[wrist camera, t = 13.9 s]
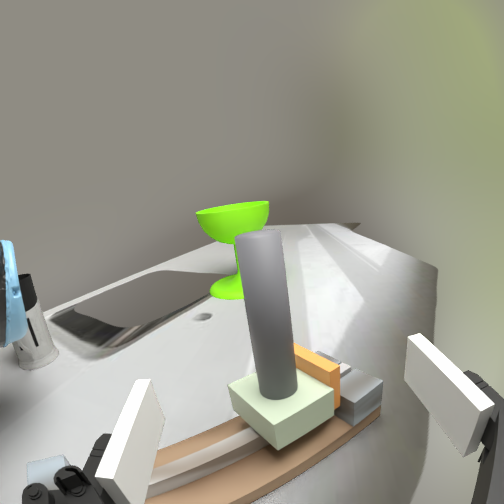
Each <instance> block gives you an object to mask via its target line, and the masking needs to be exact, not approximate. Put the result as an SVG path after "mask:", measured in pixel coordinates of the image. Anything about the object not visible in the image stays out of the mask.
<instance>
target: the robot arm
mask: <svg viewBox="0 0 504 504" xmlns="http://www.w3.org/2000/svg"><path fill="white" fill-rule="evenodd" d="M27 330H28V323H27V318H26V313H25V309H24V304H23V300H22V295H21V291H20V285H19V279H18V273H17V267H16V261H15V255H14V248H13V244H12V243H11V241H4V240H1V241H0V348H1V347H6V346H7V345H8V344H9V343H12V342H14V341H17V340H20V339H22V338H23V337H24V336H25V335H26V333H27ZM404 380H405V381H406V383H407V384H408V385H409V386H410V388H411V389H412V390H413V392H414V393H415V394H416V395H417V397H418V398H419V399H420V401H421V402H422V403H423V405H424V406H425V407H426V408H427V410H428V411H429V412H430V414H431V415H432V416H433V418H434V419H435V420H436V422H437V423H438V424H439V426H440V427H441V428H442V430H443V431H444V432H445V434H446V435H447V436H448V438H449V439H450V440H451V442H452V443H453V444H454V446H455V447H456V449H457V450H458V451H459V453H460V454H461V455H462V457H465V456H467V455H469V454H470V453H473V452H475V451H476V450H477V448H478V446H479V443H480V442H482V443H483V444H484V445H485V447H484V449H483V451H482V453H481V456H480V458H479V460H478V462H480V460H481V463H480V468H479V473H478V477H477V482H476V486H475V491H474V495H473V498H472V502H471V504H504V399H503V398H502V397H501V396H500V395H499V394H498V393H497V392H496V391H495V390H494V389H493V388H491V386H489V385H488V384H487V383H486V382H485V381H483V379H482V378H481V377H479V375H477V374H475V373H473V372H471V371H469V370H468V371H466V372H463V373H462V372H461V371H460V370H459V369H458V368H457V367H456V366H455V365H454V364H453V363H451V361H450V360H449V359H447V358H446V357H445V356H444V355H443V354H442V353H441V352H440V351H439V350H438V349H437V348H436V347H435V346H433V345H432V344H431V343H430V342H429V341H428V340H427V339H426V338H425V337H424V336H422V335H421V334H420V333H419V334H416V335H412V336H409V337H408V341H407V354H406V364H405V374H404ZM164 423H165V417H164V415H163V412H162V409H161V407H160V404H159V402H158V399H157V396H156V393H155V391H154V388H153V385H152V382H151V380H150V379H144V380H136V382H135V384H134V386H133V389H132V391H131V393H130V395H129V397H128V400H127V402H126V404H125V406H124V409H123V411H122V413H121V415H120V418H119V420H118V422H117V424H116V427H115V429H114V431H113V434H103V435H102V436H101V437H99V438H98V439H97V440H96V442H95V444H94V447H93V450H92V451H91V453H90V457H88V460H87V462H86V464H85V466H84V468H83V471H82V470H81V469H80V468H79V467H76V466H70V465H69V466H65V467H62V468H61V469H59V470H58V471H57V472H56V473H55V475H54V478H53V479H54V483H55V485H56V486H57V487H58V488H59V490H48V489H47V487H46V486H45V485H44V484H41V483H32V484H30V485H28V486H27V487H26V488H25V489H24V490H23V494H22V504H144V503H145V499H146V494H147V490H148V486H149V482H150V478H151V474H152V470H153V466H154V462H155V458H156V454H157V450H158V446H159V442H160V438H161V434H162V430H163V426H164Z"/></svg>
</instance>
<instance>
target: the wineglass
mask: <svg viewBox="0 0 504 504" xmlns="http://www.w3.org/2000/svg"><path fill="white" fill-rule="evenodd" d="M268 214H269V202H268V201H258V202H248V203H247V202H246V203H239V204H232V205H226V206H220V207H215V208H211V209H206V210H202V211H199V212H196V216H197V219H198V222H199V224H200V226H201V227H202V229H203V230H204V232H205V233H207V234H208V235H209V236H210V237H211V238H213V239H215V240H217V241H219V242H222V243H227V244H234V250H235V256H236V263H237V269H238V272H237V274H234V275H230V276H227V277H225V278H222V279H220V280H218V281H217V282H215V283H214V284H213V285H212V287H211V289H210V294H211V295H212V296H213V297H216V298H219V299H227V300H230V299H244V295H243V289H242V282H241V276H240V270H239V264H238V257H237V251H236V245H235V238H234V237H235V236H237V235H240V234H243V233H247V232H251V231H258V230H262V228H263V227H264V225H265V223H266V221H267V218H268Z"/></svg>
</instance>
